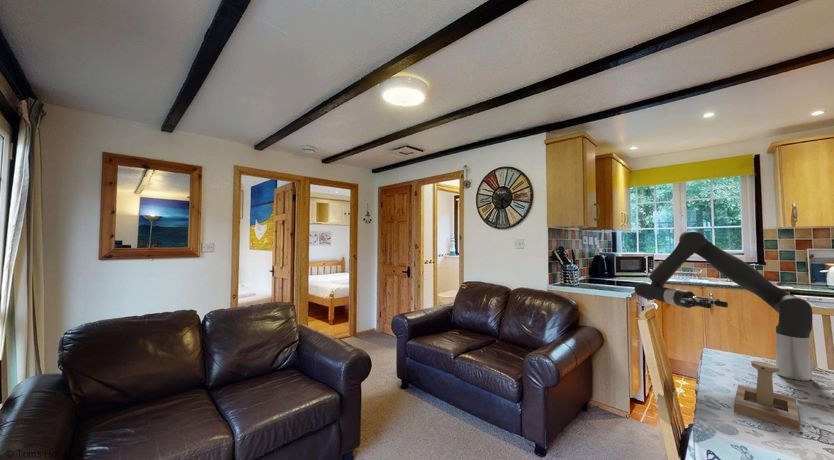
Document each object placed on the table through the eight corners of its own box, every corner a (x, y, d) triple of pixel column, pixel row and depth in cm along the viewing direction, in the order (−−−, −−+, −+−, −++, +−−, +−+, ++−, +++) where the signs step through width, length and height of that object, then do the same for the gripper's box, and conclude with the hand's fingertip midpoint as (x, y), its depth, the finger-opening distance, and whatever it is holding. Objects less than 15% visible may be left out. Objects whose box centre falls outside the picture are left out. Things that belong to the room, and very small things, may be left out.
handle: (776, 415, 106) (776, 369, 106) (749, 406, 111) (749, 362, 111) (780, 411, 108) (780, 366, 108) (753, 402, 114) (753, 359, 114)
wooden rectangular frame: (738, 392, 121) (738, 384, 121) (795, 407, 111) (795, 398, 111) (734, 411, 108) (734, 402, 108) (799, 430, 98) (799, 420, 98)
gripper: (666, 289, 146) (705, 296, 131) (691, 288, 150) (732, 295, 134) (666, 306, 146) (705, 315, 131) (691, 305, 149) (732, 313, 134)
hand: (719, 305), depth 132 cm, fingers open, 8 cm apart
